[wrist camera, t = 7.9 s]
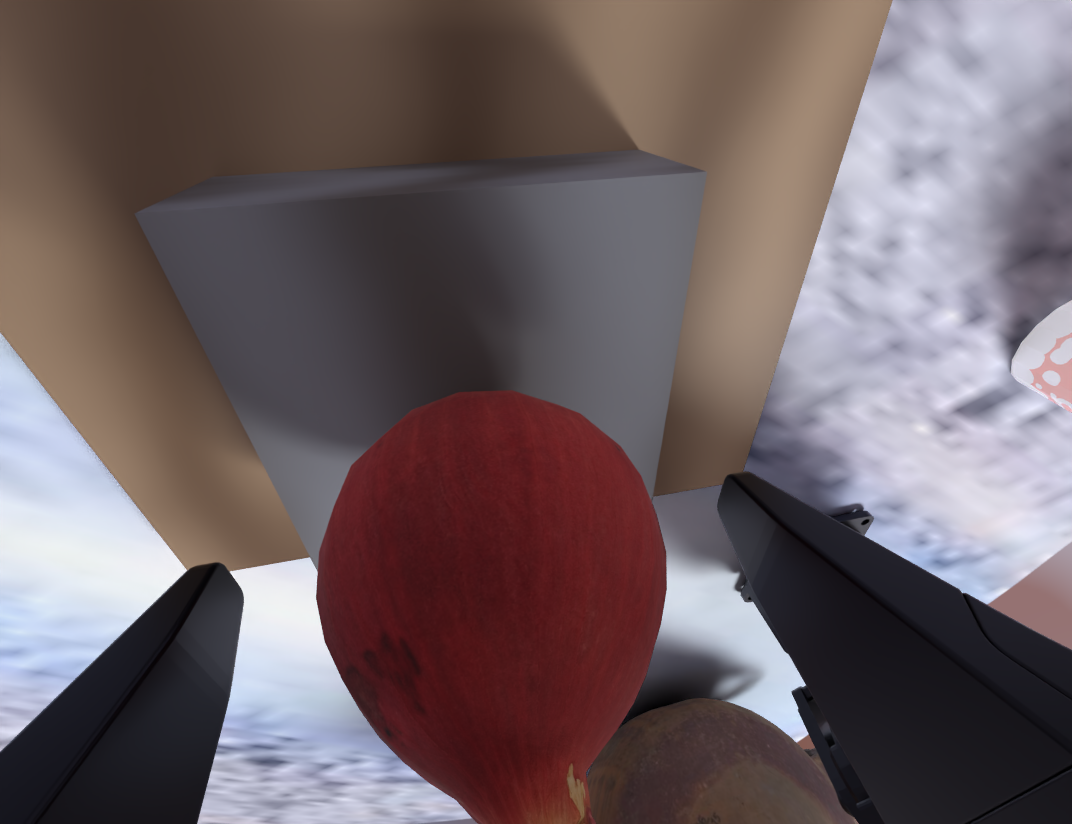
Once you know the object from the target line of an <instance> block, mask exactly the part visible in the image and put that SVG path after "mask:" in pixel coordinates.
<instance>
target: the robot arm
mask: <svg viewBox="0 0 1072 824" xmlns="http://www.w3.org/2000/svg"><path fill="white" fill-rule="evenodd" d="M717 508H718V513H719V516H720V519H721V521H722V523H723V526H724V528H725V530H726V532H727V535H728V537H729V539H730V542H731V544H732V546H733V548H734V551H735V553H736V555H737V558H738V560H739V562H740V564H741V567H742V569H743V571H744V573H745V576H746V578H747V579H746V581H745V584H744V586H743V589H742V591H741V597H742V598H743V600H744V601H745V602H754V604H755V605H756V607H757V609H758V610H759V612H760V613H761V615H762V616H763V618H764V620H765V621H766V623H767V624H768V626H769V627H770V629H771V631H772V632H773V634H774V635H775V637H776V639H777V640H778V642H779V643H780V645H781V646H782V648H783V650H784V651H785V652H786V653H787V654H789V656H790V657H791V659H792V661H793V663H794V664H795V666H796V668H797V670H798V672H799V673H800V675H801V677H802V679H803V680H804V682H805V684H806V686H804V687H801V686H800V687H798V688H797V689H795V690H793V691H792V695H793V697H794V699H795V701H796V704H797V706H798V712H799V714H800V716H801V718H802V720H803V722H804V725H805V727H806V729H807V731H808V733H809V735H810V737H811V740H812V742H813V744H814V746H815V748H816V750H817V753H818V755H819V757H820V759H821V761H822V763H823V765H824V768H825V770H826V772H827V774H828V776H829V778H830V780H831V783H832V785H833V787H834V789H835V792H836V795H837V797H838V800H839V803H840V805H841V806H842V808H843V809H844V811H845V812H846V813H847V814H849V815H851V816H852V817H854V818H855V819H856V820H857V822H858V823H859V824H1072V650H1071V649H1069V648H1067V647H1065V646H1063V645H1061V644H1059V643H1057V642H1055V641H1054V640H1052V639H1049V638H1048V637H1046V636H1044V635H1042V634H1040V633H1038V632H1036V631H1034V630H1032V629H1031V628H1029V627H1027V626H1025V625H1023V624H1021V623H1019V622H1018V621H1016V620H1014V619H1012V618H1010V617H1008V616H1007V615H1005V614H1003V613H1001V612H999V611H997V610H996V609H994V608H992V607H990V606H988V605H987V604H985V603H983V602H981V601H979V600H978V599H976V598H974V597H972V596H970V595H969V594H967V593H962V592H961V591H960V590H959V589H958V588H956V587H954V586H952V585H951V584H949V583H947V582H945V581H943V580H942V579H940V578H938V577H936V576H935V575H933V574H931V573H929V572H927V571H926V570H924V569H922V568H920V567H919V566H917V565H915V564H913V563H911V562H910V561H908V560H906V559H904V558H902V557H901V556H899V555H897V554H895V553H894V552H892V551H890V550H888V549H886V548H885V547H883V546H881V545H879V544H878V543H876V542H874V541H872V540H870V539H869V538H867V537H865V536H864V535H865V533H866V532H867V530H868V528H869V527H870V525H871V523H872V522H873V520H874V517H873V516H872V515H871V514H870V513H869V512H868V511H860V512H855V513H850V514H845V515H839V516H834V517H829V516H828V515H826V514H824V513H822V512H820V511H819V510H817V509H815V508H813V507H812V506H810V505H808V504H806V503H804V502H803V501H801V500H799V499H797V498H796V497H794V496H792V495H790V494H788V493H787V492H785V491H783V490H781V489H779V488H778V487H776V486H774V485H772V484H771V483H769V482H767V481H765V480H763V479H762V478H760V477H758V476H756V475H755V474H753V473H750V472H746V471H745V472H738V473H732V474H729V475H727V476H726V477H725V479H724V482H723V486H722V489H721V493H720V496H719V500H718V504H717ZM243 605H244V597H243V592H242V590H241V588H240V586H239V585H238V583H237V582H236V581H235V579H234V578H233V576H232V575H231V573H230V572H229V570H228V569H227V568H226V566H225V565H224V564H222V563H220V562H214V563H208V564H202V565H197V566H194V567H192V568H190V569H189V570H188V571H186V572H185V573H184V574H183V575H182V576H181V577H180V578H179V579H178V580H177V581H176V582H175V583H174V584H173V585H172V586H171V587H170V588H169V589H168V590H167V591H166V592H165V593H164V594H163V595H162V596H161V597H159V598H158V599H157V600H156V601H155V602H154V603H153V604H152V605H151V606H150V607H149V608H148V609H147V610H146V611H145V612H144V613H143V614H142V615H141V616H140V617H139V618H138V619H137V620H136V621H135V622H134V623H133V624H132V625H131V626H130V627H129V628H127V629H126V630H125V631H124V632H123V633H122V634H121V635H120V636H119V637H118V638H117V639H116V640H115V641H114V642H113V643H112V644H111V645H110V646H109V647H108V648H107V649H106V650H105V651H104V652H103V653H102V654H101V655H100V656H99V657H98V658H97V659H95V660H94V661H93V662H92V663H91V664H90V665H89V666H88V667H87V668H86V669H85V670H84V671H83V672H82V673H81V674H80V675H79V676H78V677H77V678H76V679H75V680H74V681H73V682H72V683H71V684H70V685H69V686H68V687H67V688H66V689H65V690H63V691H62V692H61V693H60V694H59V695H58V696H57V697H56V698H55V699H54V700H53V701H52V702H51V703H50V704H49V705H48V706H47V707H46V708H45V709H44V710H43V711H42V712H41V713H40V714H39V715H38V716H37V717H36V718H35V719H34V720H33V721H31V722H30V723H29V724H28V725H27V726H26V727H25V728H24V729H23V730H22V731H21V732H20V733H19V734H18V735H17V736H16V737H15V738H14V739H13V740H12V741H11V742H10V743H9V744H8V745H7V746H6V747H5V748H4V749H3V750H2V751H1V752H0V824H197V822H198V818H199V814H200V811H201V807H202V803H203V799H204V795H205V791H206V787H207V784H208V780H209V776H210V772H211V768H212V764H213V760H214V757H215V753H216V749H217V745H218V741H219V737H220V733H221V730H222V726H223V722H224V718H225V714H226V710H227V706H228V701H229V697H230V692H231V686H232V680H233V674H234V667H235V660H236V653H237V646H238V639H239V632H240V626H241V619H242V612H243Z"/></svg>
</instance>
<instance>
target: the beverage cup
mask: <svg viewBox="0 0 1072 824" xmlns="http://www.w3.org/2000/svg"><path fill="white" fill-rule="evenodd" d="M1011 374H1012V375H1013V377H1014V378H1015V379H1016V380H1017V381H1018V382H1020V383H1022V384H1023V385H1025V386H1027V387H1028V388H1030V389H1032V390H1033V391H1035V392H1037V393H1039V394H1040V395H1042V396H1044V397H1045V398H1047V399H1049V400H1051V401H1052V402H1054V403H1056V404H1057V405H1059V406H1061V407H1063V408H1064V409H1066V410H1068V411H1069V412H1071V413H1072V300H1071V301H1069V302H1068V303H1066V304H1064V305H1062V306H1060V307H1059V308H1057V309H1056V310H1055V311H1053V312H1052V313H1051V314H1050V315H1048V316H1047V317H1046V318H1045V319H1043V320H1042V321H1041V322H1040V323H1039V324H1037V325H1036V326H1035V328H1034V329H1033V330H1032V331H1031V332H1030V333H1029V335H1028V336H1027V337H1026V338H1025V339H1024V340H1023V341H1022V343H1021V344H1020V346H1019V348H1018V350H1017V352H1016V354H1015V355H1014V357H1013V359H1012V366H1011Z"/></svg>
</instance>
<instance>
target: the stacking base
mask: <svg viewBox="0 0 1072 824" xmlns="http://www.w3.org/2000/svg"><path fill="white" fill-rule="evenodd" d="M891 3H892V0H0V332H1V334H2V335H3V336H4V337H5V339H6V340H7V341H8V342H9V344H10V345H11V346H12V348H13V349H14V350H15V351H16V353H17V354H18V355H19V356H20V358H21V359H22V360H23V362H24V363H25V364H26V365H27V367H28V368H29V369H30V370H31V372H32V373H33V374H34V376H35V377H36V378H37V379H38V381H39V382H40V383H41V384H42V386H43V387H44V388H45V390H46V391H47V392H48V393H49V395H50V396H51V397H52V399H53V400H54V401H55V402H56V404H57V405H58V406H59V407H60V409H61V410H62V411H63V413H64V414H65V415H66V416H67V418H68V419H69V420H70V421H71V423H72V424H73V425H74V427H75V428H76V429H77V430H78V432H79V433H80V434H81V435H82V437H83V438H84V439H85V441H86V442H87V443H88V444H89V446H90V447H91V448H92V450H93V451H94V452H95V453H96V455H97V456H98V457H99V458H100V460H101V461H102V462H103V464H104V465H105V466H106V467H107V469H108V470H109V471H110V472H111V474H112V475H113V476H114V478H115V479H116V480H117V481H118V483H119V484H120V485H121V486H122V488H123V489H124V490H125V492H126V493H127V494H128V495H129V497H130V498H131V499H132V500H133V502H134V503H135V504H136V506H137V507H138V508H139V509H140V511H141V512H142V513H143V515H144V516H145V517H146V518H147V520H148V521H149V522H150V523H151V525H152V526H153V527H154V529H155V530H156V531H157V532H158V534H159V535H160V536H161V537H162V539H163V540H164V541H165V543H166V544H167V545H168V546H169V548H170V549H171V550H172V551H173V553H174V554H175V555H176V557H177V558H178V559H179V560H180V562H181V563H182V564H183V565H184V567H185V568H186V569H187V571H188V570H189V569H190V568H192V567H194V566H197V565H202V564H208V563H214V562H220V563H222V564H224V565H225V566H226V568H227V569H228V570H229V571H234V570H240V569H246V568H251V567H257V566H263V565H268V564H274V563H280V562H285V561H291V560H297V559H302V558H308V557H310V558H311V560H312V562H313V564H314V566H315V567H316V569H317V571H318V560H319V550H320V547H321V544H322V541H323V538H324V535H325V532H326V529H327V526H328V523H329V520H330V517H331V514H332V511H333V508H334V505H335V503H336V500H337V498H338V495H339V493H340V491H341V488H342V486H343V484H344V481H345V479H346V476H347V474H348V472H349V469H350V467H351V465H352V464H353V463H354V462H355V461H356V460H357V459H358V458H360V457H361V456H362V455H363V454H364V453H365V452H366V451H367V450H368V449H369V448H370V447H371V446H372V445H373V444H374V443H375V442H376V441H377V440H378V439H380V438H381V437H382V436H383V435H384V434H385V433H386V432H387V431H389V430H390V429H391V428H392V427H393V426H394V425H395V424H397V423H398V422H399V421H400V420H401V419H402V418H403V417H404V416H406V415H407V414H408V413H409V412H410V411H411V410H413V409H416V408H418V407H421V406H423V405H426V404H429V403H431V402H434V401H437V400H439V399H442V398H445V397H447V396H450V395H453V394H455V393H458V392H474V391H505V390H513V391H516V392H519V393H522V394H526V395H529V396H532V397H535V398H538V399H542V400H545V401H548V402H551V403H554V404H558V405H560V406H563V407H565V408H568V409H570V410H573V411H575V412H578V413H580V414H582V415H583V416H584V417H585V418H587V419H588V420H589V421H590V422H592V423H593V424H594V425H595V426H597V427H598V428H599V429H600V430H601V431H603V432H604V433H605V434H606V435H608V436H609V437H610V438H611V439H613V440H614V441H615V442H616V443H618V444H619V445H620V446H621V447H622V449H623V450H624V452H625V453H626V455H627V456H628V458H629V459H630V460H631V462H632V463H633V465H634V466H635V468H636V469H637V471H638V472H639V473H640V475H641V477H642V479H643V482H644V484H645V487H646V489H647V492H648V494H649V497H650V499H651V502H652V498H653V497H654V496H660V495H665V494H671V493H677V492H682V491H688V490H694V489H699V488H705V487H711V486H716V485H722V484H723V482H724V479H725V477H726V476H727V475H729V474H732V473H738V472H743V470H744V467H745V464H746V460H747V457H748V454H749V451H750V448H751V445H752V442H753V438H754V435H755V432H756V429H757V426H758V423H759V420H760V416H761V413H762V410H763V407H764V404H765V401H766V397H767V394H768V391H769V388H770V385H771V382H772V379H773V375H774V372H775V369H776V366H777V363H778V360H779V356H780V353H781V350H782V347H783V344H784V341H785V338H786V334H787V331H788V328H789V325H790V322H791V319H792V315H793V312H794V309H795V306H796V303H797V300H798V297H799V293H800V290H801V287H802V284H803V281H804V278H805V274H806V271H807V268H808V265H809V262H810V259H811V256H812V252H813V249H814V246H815V243H816V240H817V237H818V234H819V230H820V227H821V224H822V221H823V218H824V215H825V211H826V208H827V205H828V202H829V199H830V196H831V193H832V189H833V186H834V183H835V180H836V177H837V174H838V170H839V167H840V164H841V161H842V158H843V155H844V152H845V148H846V145H847V142H848V139H849V136H850V133H851V129H852V126H853V123H854V120H855V117H856V114H857V111H858V107H859V104H860V101H861V98H862V95H863V92H864V88H865V85H866V82H867V79H868V76H869V73H870V70H871V66H872V63H873V60H874V57H875V54H876V51H877V48H878V44H879V41H880V38H881V35H882V32H883V29H884V25H885V22H886V19H887V16H888V13H889V10H890V7H891Z"/></svg>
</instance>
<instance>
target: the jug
mask: <svg viewBox="0 0 1072 824" xmlns="http://www.w3.org/2000/svg"><path fill="white" fill-rule="evenodd" d="M587 784H588V791H589V798H590V806H591V813H592V817H593V818H594V819H595V822H596V824H857V823H856V821H855V819H854V817H852V816H851V815H849V814H847V813H846V812H845V811H844V809H843V808H842V806H841V805H840V803H839V800H838V797H837V795H836V792H835V789H834V787H833V785H832V783H831V780H830V778H829V776H828V774H827V772H826V770H825V768H824V765H823V763H822V761H821V759H820V757H819V755H818V753H817V750H816V748H814V749H811V750H810V749H805V750H803V749H802V748H801V747H800V746H799V745H798V744H797V743H796V742H795V741H794V740H793V739H792V738H791V737H790V736H788V735H787V734H786V733H785V732H783V731H782V730H781V729H779V728H778V727H777V726H776V725H774V724H773V723H771V722H770V721H768V720H766V719H765V718H763V717H762V716H760V715H758V714H756V713H754V712H753V711H751V710H748V709H746V708H743V707H741V706H738V705H735V704H732V703H729V702H725V701H721V700H715V699H707V698H695V699H688V700H684V701H681V702H677V703H674V704H670V705H667V706H663V707H659V708H656V709H653V710H650V711H647V712H645V713H643V714H641V715H639V716H637V717H635V718H633V719H631V720H629V721H628V722H627V723H625V724H624V725H623V726H621V727H620V728H619V729H618V730H617V731H616V732H615V733H614V735H613V736H612V737H611V739H610V740H609V741H608V742H607V744H606V745H605V746H604V748H603V749H602V750H601V752H600V753H599V754H598V756H597V757H596V759H595V760H594V762H593V764H592V766H591V768H590V771H589V774H588V777H587Z"/></svg>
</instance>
